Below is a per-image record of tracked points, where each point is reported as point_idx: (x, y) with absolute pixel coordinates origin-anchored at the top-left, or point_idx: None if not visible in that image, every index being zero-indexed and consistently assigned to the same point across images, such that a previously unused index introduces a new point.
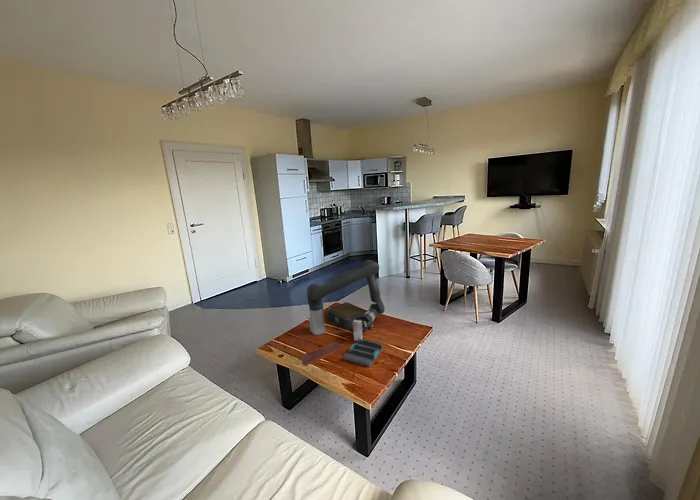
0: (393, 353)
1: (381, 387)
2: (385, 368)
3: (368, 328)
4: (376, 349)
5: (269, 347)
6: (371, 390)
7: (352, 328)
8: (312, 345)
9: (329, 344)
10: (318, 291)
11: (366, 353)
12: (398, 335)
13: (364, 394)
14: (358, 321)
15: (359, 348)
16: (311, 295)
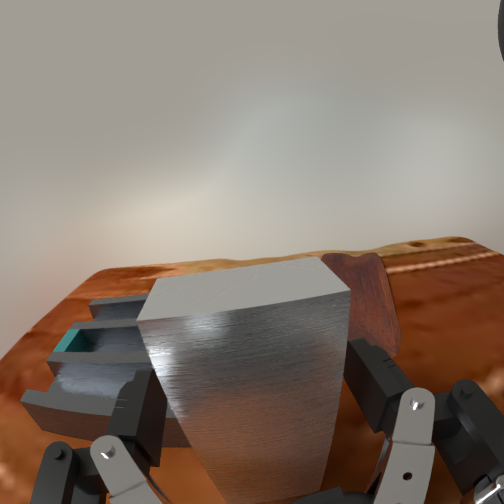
0: (2, 407)
1: (73, 292)
2: (50, 334)
3: (83, 456)
4: (58, 355)
5: (469, 242)
6: (96, 281)
7: (359, 402)
8: (431, 291)
9: (389, 325)
10: (501, 17)
11: (109, 320)
12: None
13: (111, 273)
14: (212, 291)
15: None
16: (500, 50)
